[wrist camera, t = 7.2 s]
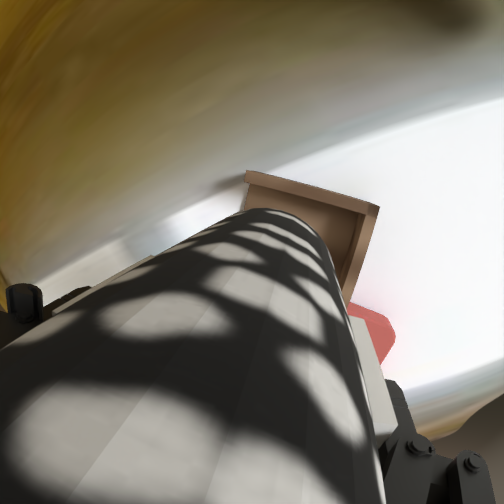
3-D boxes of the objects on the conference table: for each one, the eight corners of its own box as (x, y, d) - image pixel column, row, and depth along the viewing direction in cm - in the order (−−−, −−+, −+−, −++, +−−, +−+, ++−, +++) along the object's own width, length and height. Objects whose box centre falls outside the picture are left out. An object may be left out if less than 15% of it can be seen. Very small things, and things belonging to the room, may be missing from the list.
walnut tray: (253, 171, 35) (246, 170, 31) (371, 202, 33) (379, 206, 29) (229, 278, 39) (219, 290, 34) (337, 307, 37) (340, 324, 33)
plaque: (349, 437, 37) (252, 407, 38) (347, 419, 40) (257, 390, 42) (421, 339, 32) (310, 296, 33) (412, 325, 35) (310, 284, 36)
